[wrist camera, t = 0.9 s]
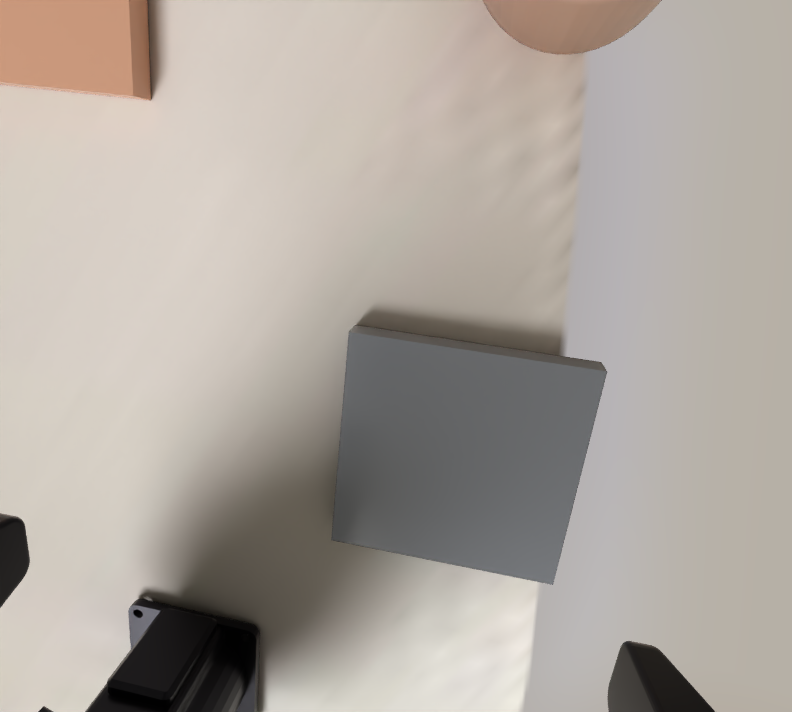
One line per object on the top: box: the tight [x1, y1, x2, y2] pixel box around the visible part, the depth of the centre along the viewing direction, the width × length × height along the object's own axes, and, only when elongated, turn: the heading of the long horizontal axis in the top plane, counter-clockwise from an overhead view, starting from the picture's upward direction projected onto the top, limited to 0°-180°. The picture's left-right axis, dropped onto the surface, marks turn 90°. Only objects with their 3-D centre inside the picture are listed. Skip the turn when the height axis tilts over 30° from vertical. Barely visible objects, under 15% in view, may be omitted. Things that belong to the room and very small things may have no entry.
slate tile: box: [332, 325, 607, 585], centre depth 21 cm, size 9×9×1 cm
